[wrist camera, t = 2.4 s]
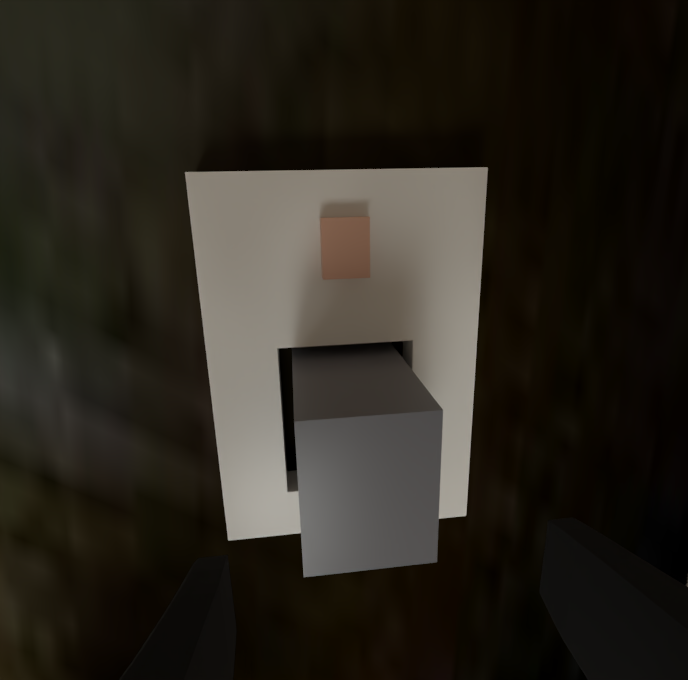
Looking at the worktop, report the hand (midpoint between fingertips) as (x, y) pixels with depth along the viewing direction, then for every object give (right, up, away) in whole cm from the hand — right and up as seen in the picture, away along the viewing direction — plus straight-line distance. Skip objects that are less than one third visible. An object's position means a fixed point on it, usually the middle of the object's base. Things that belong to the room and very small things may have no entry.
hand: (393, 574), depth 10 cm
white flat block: (-1, +4, +8) cm, 9 cm away
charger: (-1, +3, +9) cm, 9 cm away
